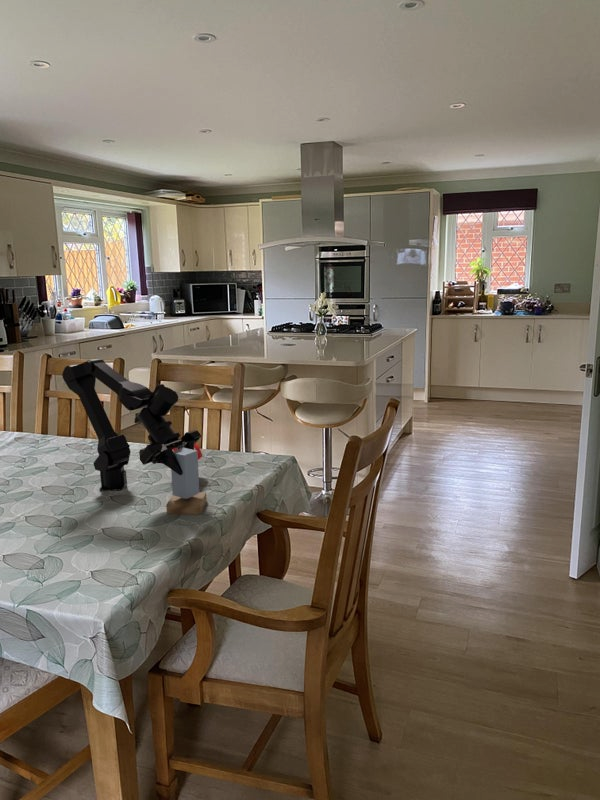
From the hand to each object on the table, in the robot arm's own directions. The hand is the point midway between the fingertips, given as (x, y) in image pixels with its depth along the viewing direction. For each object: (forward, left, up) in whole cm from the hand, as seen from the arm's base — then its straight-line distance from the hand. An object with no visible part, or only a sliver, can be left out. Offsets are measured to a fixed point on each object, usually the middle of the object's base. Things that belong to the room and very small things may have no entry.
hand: (188, 471), depth 159 cm
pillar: (-1, +1, -7) cm, 7 cm away
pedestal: (-1, +1, -11) cm, 11 cm away
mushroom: (-6, +25, -11) cm, 28 cm away
